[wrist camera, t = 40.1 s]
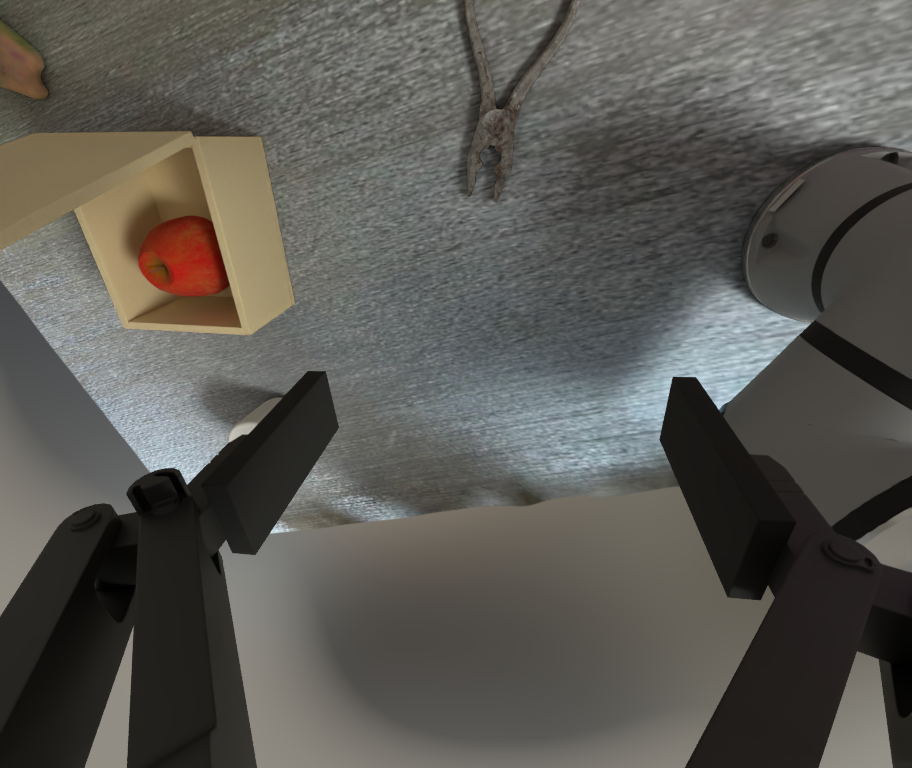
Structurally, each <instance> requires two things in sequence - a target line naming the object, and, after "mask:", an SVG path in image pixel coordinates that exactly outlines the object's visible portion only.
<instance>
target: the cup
mask: <svg viewBox="0 0 912 768" xmlns="http://www.w3.org/2000/svg"><path fill="white" fill-rule="evenodd" d="M281 399H282V398H281V397H278V398H272V399H270V400H268V401H266V402H264V403H263V404H261V405H260V406H259V407H258V408H256V409H255V410H254V411H252V412H251V413H250V414H248V415H247V416H246V417H244V418H243V419H242V420H240V421H239V422H238V423H236V424H235V425H234V426H233V427H232V428H231V430H230V431H229V434H228V443H229V442H231V441H232V440H234V439H236V438H237V437H239V436H241V435H242V434H249V433H250V432H251V431H252V430H253V429H254V428H255V427H256V426H257V424H258V423H259V422H260V421H261V420H262V419H263V418H264V417H265V416H266V415H267V414H268V413H269V412H270V411H271V410H272V409H273V408H274V406H275V405H276V404H277V403H278V402H279V401H280V400H281Z"/></svg>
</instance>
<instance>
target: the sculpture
mask: <svg viewBox="0 0 912 768" xmlns="http://www.w3.org/2000/svg"><path fill="white" fill-rule="evenodd" d="M44 67H45V64H44V60H43V58H42V56H41V55H40V53H39V52H38V51H37V50H36V49H35V48H34V47H33V46H32V45H30V44H29V43H28V42H27V41H26V40H25V39H23V38H22V37H21V36H20V35H19V34H17V33H16V32H15V31H14V30H13V29H12V28H10V27H9V26H8V25H7V24H6V23H5V22H3V21H2V20H1V19H0V87H4V88H8V89H10V90H13V91H16V92H18V93H21V94H24V95H26V96H28V97H31V98H35V99H44V98H46V97H47V96H48V90H47V88H46V87H45V86H44V85H43V83H42V81H41V72H42V70H43V69H44Z"/></svg>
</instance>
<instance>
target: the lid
mask: <svg viewBox="0 0 912 768" xmlns="http://www.w3.org/2000/svg"><path fill="white" fill-rule="evenodd" d="M194 142H195V139H194V137H193V134H192V132H191V131H164V132H86V133H34V134H31V135H28V136H25V137H23V138H20V139H17V140H14V141H12V142H9V143H6V144H3V145H1V146H0V250H2V249H4V248H6V247H7V246H9V245H11V244H13V243H15V242H16V241H18V240H20V239H22V238H23V237H25V236H27V235H29V234H31V233H32V232H34V231H36V230H38V229H40V228H41V227H43V226H45V225H47V224H49V223H50V222H52V221H54V220H56V219H58V218H59V217H61V216H63V215H65V214H67V213H68V212H70V211H72V210H74V209H76V208H77V207H79V206H81V205H83V204H85V203H86V202H88V201H90V200H92V199H94V198H95V197H97V196H99V195H101V194H103V193H104V192H106V191H108V190H110V189H112V188H113V187H115V186H117V185H119V184H121V183H122V182H124V181H126V180H128V179H130V178H131V177H133V176H135V175H137V174H138V173H140V172H142V171H144V170H146V169H147V168H149V167H151V166H153V165H155V164H156V163H158V162H160V161H162V160H164V159H165V158H167V157H169V156H171V155H173V154H174V153H176V152H178V151H180V150H182V149H183V148H185V147H187V146H189V145H191V144H192V143H194Z"/></svg>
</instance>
